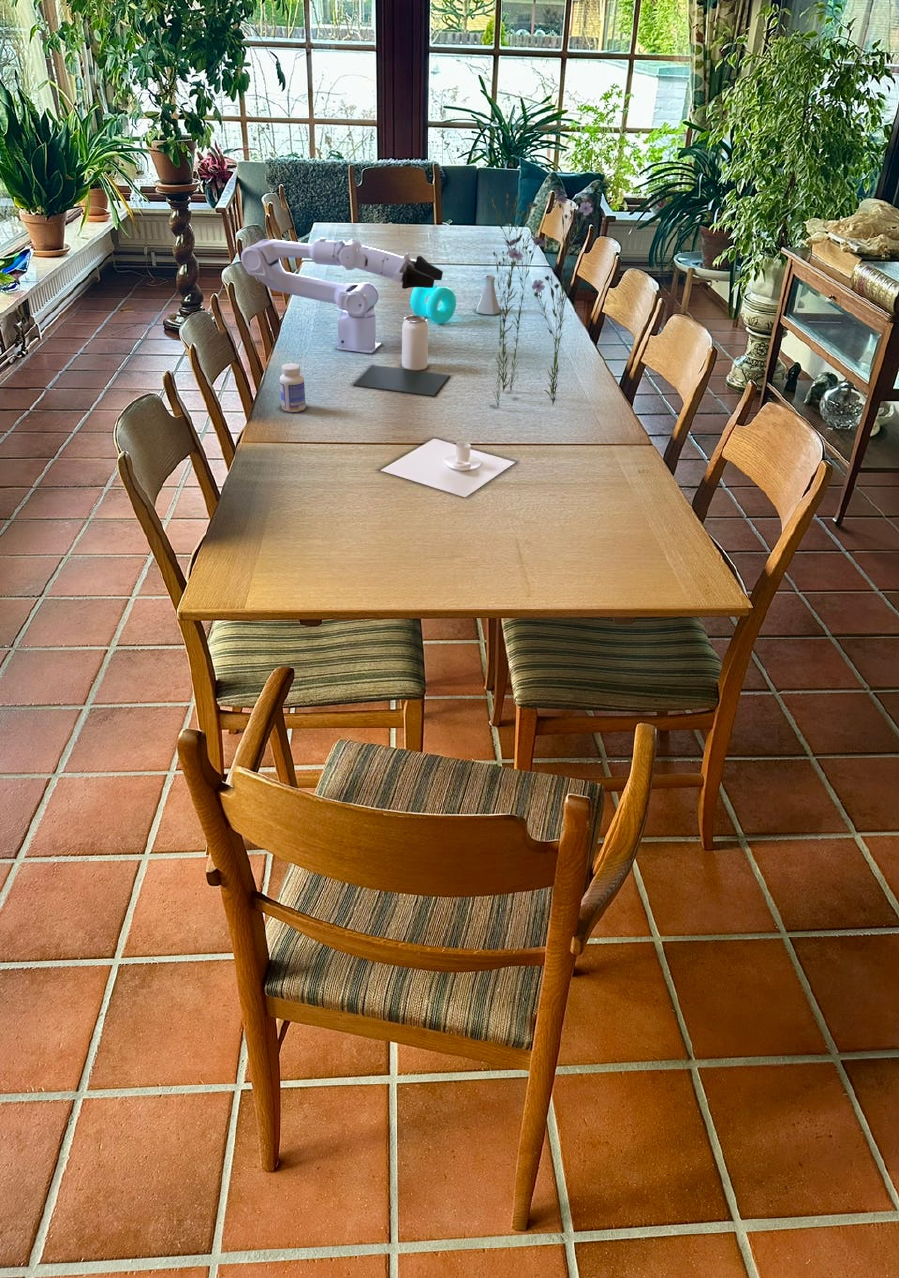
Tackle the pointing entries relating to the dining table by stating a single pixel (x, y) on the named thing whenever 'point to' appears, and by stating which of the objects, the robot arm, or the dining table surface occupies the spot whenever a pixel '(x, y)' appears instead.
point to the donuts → (433, 303)
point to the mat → (402, 380)
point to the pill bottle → (292, 388)
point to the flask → (488, 298)
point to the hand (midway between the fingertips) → (437, 279)
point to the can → (415, 343)
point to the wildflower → (536, 284)
